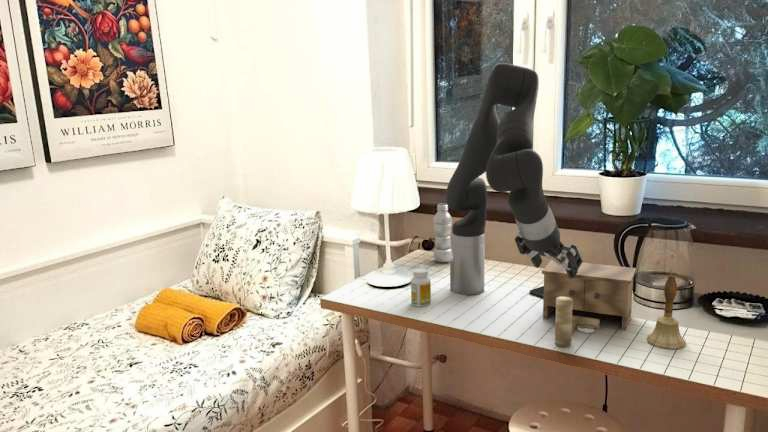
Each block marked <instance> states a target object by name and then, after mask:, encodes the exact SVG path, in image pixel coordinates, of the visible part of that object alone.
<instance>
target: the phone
mask: <svg viewBox="0 0 768 432" xmlns="http://www.w3.org/2000/svg"><path fill="white" fill-rule="evenodd" d="M529 295H531V296H534V297H537V298H540V299H542V300H543V299H544V285H543V286H539V287H537V288H536V287H535V288H533V289H530V290H529Z"/></svg>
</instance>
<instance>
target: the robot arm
mask: <svg viewBox="0 0 768 432" xmlns="http://www.w3.org/2000/svg"><path fill="white" fill-rule="evenodd" d="M539 84H540V79H539V75H538V73H537V71H535V70H534V69H532V68H528V67H525V66H520V65H515V64H511V63H507V62H497V63H496V64H495V65H494V66H493V68H492V70H491V71H490V74H489V76H488V79H487V83H486V86H485V89H484V92H483V95H482V99H481V103H480V105H479V109H478V113H477V115H476V118H475V120H474V123H473V125H472V128H471V130H470V131H469V134H468V137H467V140H466V142H465V146H464V149H463V152H462V155H461V157H460V160H459V162H458V165H457V166H456V168H455V170H454V172H453V174H452V176H451V178H450V179H449V182H448V185H447V187H446V192H445V194H446V195H445V201H446V204H447V205H448V209H450V210H452V211H456V212H464V211H469V212H468V214H467V215H465V216H463V218H461V219H459V220H457V221H454V223H452V226H451V236H452V254H453V255H452V259H450V261H449V277H450V278H449V286H450V287H449V288H450V289H449V290H450V291H452V292H455V293H457V294H461V295H466V296H467V295H469V296H470V295H471V296H472V295H479V294H481V293H483V292H484V291H485V259H486V258H485V257H486V256H485V251H486V250H485V245H486V244H485V243H486V242H485V239H486V237H485V234H486V233H485V232H486V231H485V229H486V222H487V205H488V189H487V184H488V185H489V187H490V188H491V189H492V190H494V191H495V192H498V193H507V192H508V196H507V202H508V205H509V207H510V210H511V212H512V215H513V217H514V219H515V222H516V226H517V228H518V230H519V232H518V233H517V235H516V236H515V238H514V241H515V244H516V246H517V249H518V251H519V254H521V255H523V256H524V255H526V256H527V258H528V259H530V262H531V264H533V266H534V268H537V269H538V268H540V267H541V264H542V263H543V259H542V257H544V258H545V257H546V258H548V259H551V260H553V261H554V262H556V263H557V264H558V265H560V264H561V265H562V266H563V267H564V268H566V272H567V274H568V277H569V278H571V279H573V277H575V275H576V274H577V272H578V271H577V270H578V269H579V267H580V265H581V264H582V262H583V263H584V261H583V260H582V259H583V258H582V256H581V254H580V253H579V250H578V247H577V246H576V245H574V244H571V245H570V247H569V246H565V245H564V244H563V242H562V240H561V233H560V232H561V231H560V229H559V227H558V224H557V221H556V219H555V215H554V213H553V211H552V209H551V208H550V206H549V204H548V202H547V199H546V196H545V194H544V193H545V192H544V190H543V176H544V175H543V174H544V167H543V166H544V164H543V161H542V158H541V156H540V155H539V154H538V152H537V151H535V150H533V121H534V117H535V112H536V107H537V99H538V94H539V93H538V92H539ZM497 105H501V106H506V107H510V108H513V109H512V110H510V111H508V112H507V113H506V114H505V115H504V116H503V117H502V118H501V120H500V119H499V116H498V113H497V107H496V106H497ZM483 174H485V176H486V177H485V178H486V181H487V184H486V182H485V180H484V179H483V178H482V177H481V176H482V175H483ZM559 256H560V257H559ZM558 257H559V258H558ZM566 260H567V261H569V262H568V263H566V262H565V261H566Z"/></svg>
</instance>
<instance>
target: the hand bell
mask: <svg viewBox="0 0 768 432" xmlns="http://www.w3.org/2000/svg"><path fill="white" fill-rule="evenodd" d="M663 287H664V289H663V290H664V291H663V294H664V299H665V307H664V312H663V315H662V316H659V317H658V318H657V319H656V323H655V327H654V328H653V330H652V332H651V333H650V334H648V335H647V337H646V341H647V343H649V344H651V345H652V346H655V347H657V348H662V349H668V350H677V349H683V348H685V347H686V345H687V342H686V339H685V338H683V337H682V334H681V332H680V329H679V328H680V327H679V321H678V319H676V318H675V317H673V308H674V301H675V298H676V296H677V292H678V291H677V290H678V284H677V281H676V275H673V274H669V275H668V277H667V279H666V281H665V283H664V286H663Z"/></svg>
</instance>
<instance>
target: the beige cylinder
mask: <svg viewBox="0 0 768 432" xmlns="http://www.w3.org/2000/svg"><path fill="white" fill-rule="evenodd" d="M572 305H573V299H572V298H570V297H557V298H556V307H555V326H554V328H555V329H554V333H555V334H554V345H555V346H556V347H559V348H562V349H563V348H566V349H567V348H570V347H571V346H572V336H573V334H574V332H575V331H576V330H577V325H578V324H591V325H594V326H595V327H596V330H597V329H600V318H592V317H588V316H579V315H573V310H572Z"/></svg>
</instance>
